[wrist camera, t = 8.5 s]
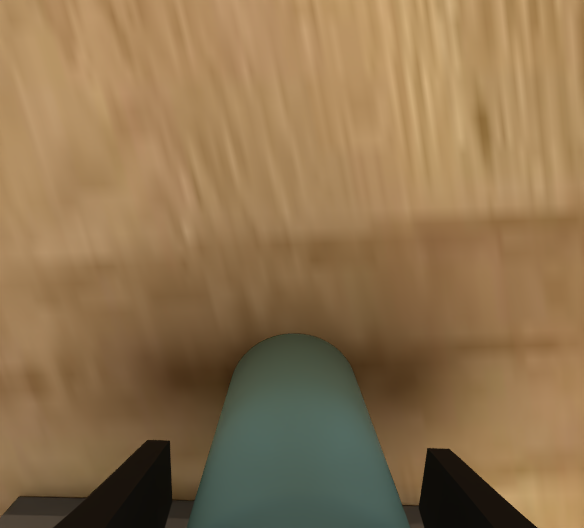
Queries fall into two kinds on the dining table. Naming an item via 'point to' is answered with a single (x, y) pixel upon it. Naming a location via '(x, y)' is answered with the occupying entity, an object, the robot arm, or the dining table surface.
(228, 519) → the teal cylinder
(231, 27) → the dining table surface
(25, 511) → the tote
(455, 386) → the dining table surface
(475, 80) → the dining table surface
